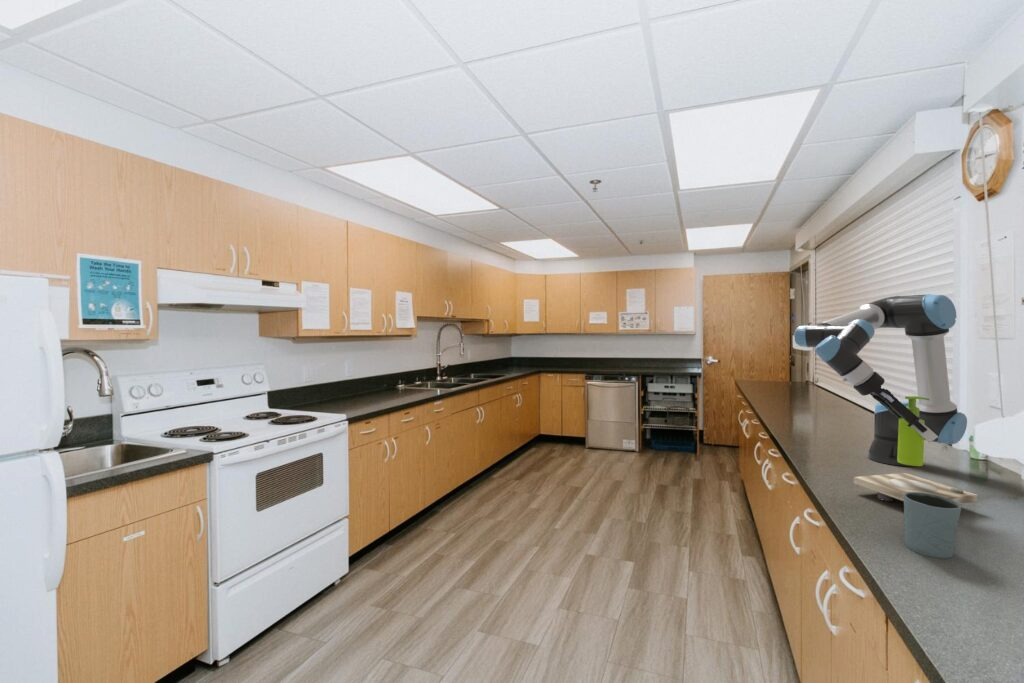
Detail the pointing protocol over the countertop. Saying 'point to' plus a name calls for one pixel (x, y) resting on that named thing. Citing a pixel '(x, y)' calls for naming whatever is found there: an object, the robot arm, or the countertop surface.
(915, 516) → the blue-grey cup
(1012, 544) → the countertop surface
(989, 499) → the countertop surface
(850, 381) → the robot arm
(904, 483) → the stand
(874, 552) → the countertop surface
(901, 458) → the soap dispenser
